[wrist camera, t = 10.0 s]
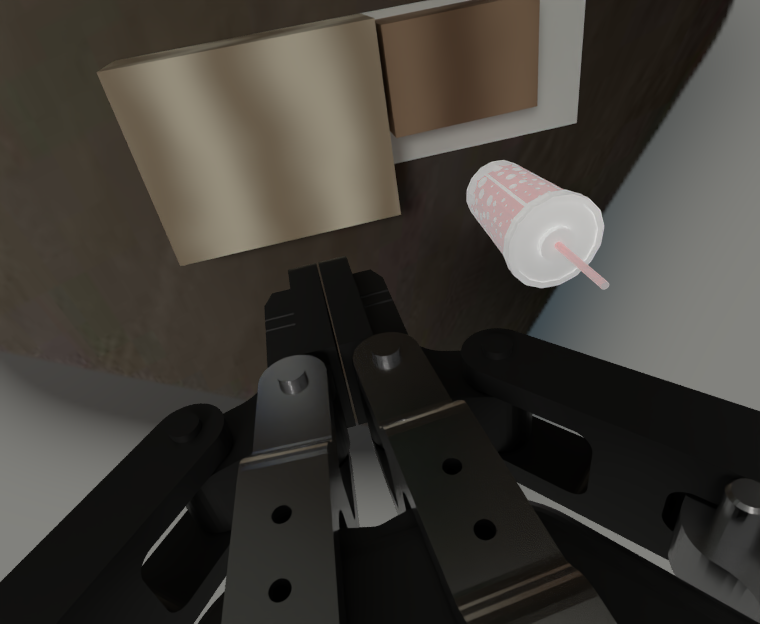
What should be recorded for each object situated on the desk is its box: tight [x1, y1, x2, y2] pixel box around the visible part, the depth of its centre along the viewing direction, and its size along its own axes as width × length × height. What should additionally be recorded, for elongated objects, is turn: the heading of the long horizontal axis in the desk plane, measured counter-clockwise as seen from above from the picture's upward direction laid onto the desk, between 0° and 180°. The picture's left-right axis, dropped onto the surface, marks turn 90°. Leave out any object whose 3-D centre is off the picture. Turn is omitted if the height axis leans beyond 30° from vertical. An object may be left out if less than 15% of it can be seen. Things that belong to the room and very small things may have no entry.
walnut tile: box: [375, 0, 540, 138], centre depth 30 cm, size 9×6×3 cm, turn 99°
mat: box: [361, 0, 586, 164], centre depth 33 cm, size 14×9×1 cm, turn 99°
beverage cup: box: [467, 160, 609, 290], centre depth 32 cm, size 6×6×14 cm
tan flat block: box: [97, 13, 401, 266], centre depth 30 cm, size 14×11×4 cm
